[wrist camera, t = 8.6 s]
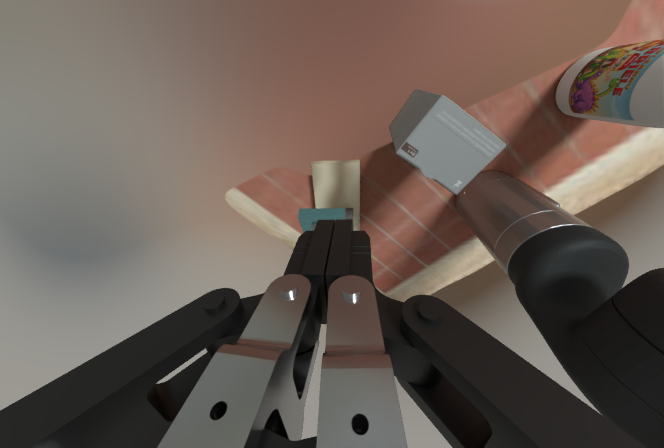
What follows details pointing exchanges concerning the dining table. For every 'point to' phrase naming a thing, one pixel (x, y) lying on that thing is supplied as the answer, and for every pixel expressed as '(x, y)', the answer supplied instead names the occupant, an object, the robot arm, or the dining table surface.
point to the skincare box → (443, 140)
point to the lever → (319, 216)
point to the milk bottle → (617, 85)
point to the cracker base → (338, 187)
